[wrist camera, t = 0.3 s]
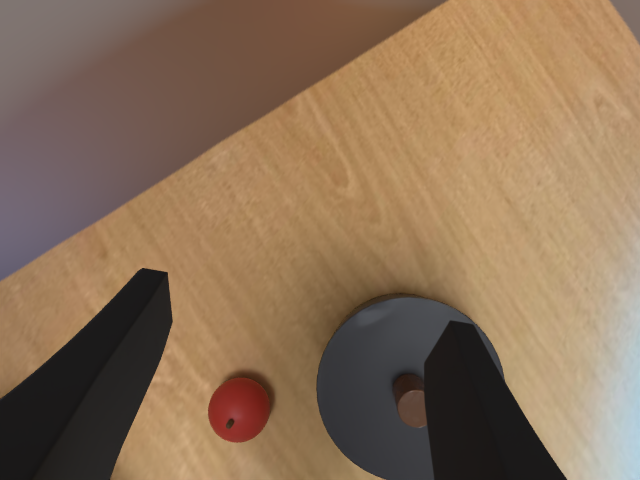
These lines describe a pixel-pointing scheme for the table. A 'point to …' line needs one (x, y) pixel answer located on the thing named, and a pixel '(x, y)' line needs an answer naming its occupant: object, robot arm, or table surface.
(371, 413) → the lid
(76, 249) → the table surface
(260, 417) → the apple
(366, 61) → the table surface
